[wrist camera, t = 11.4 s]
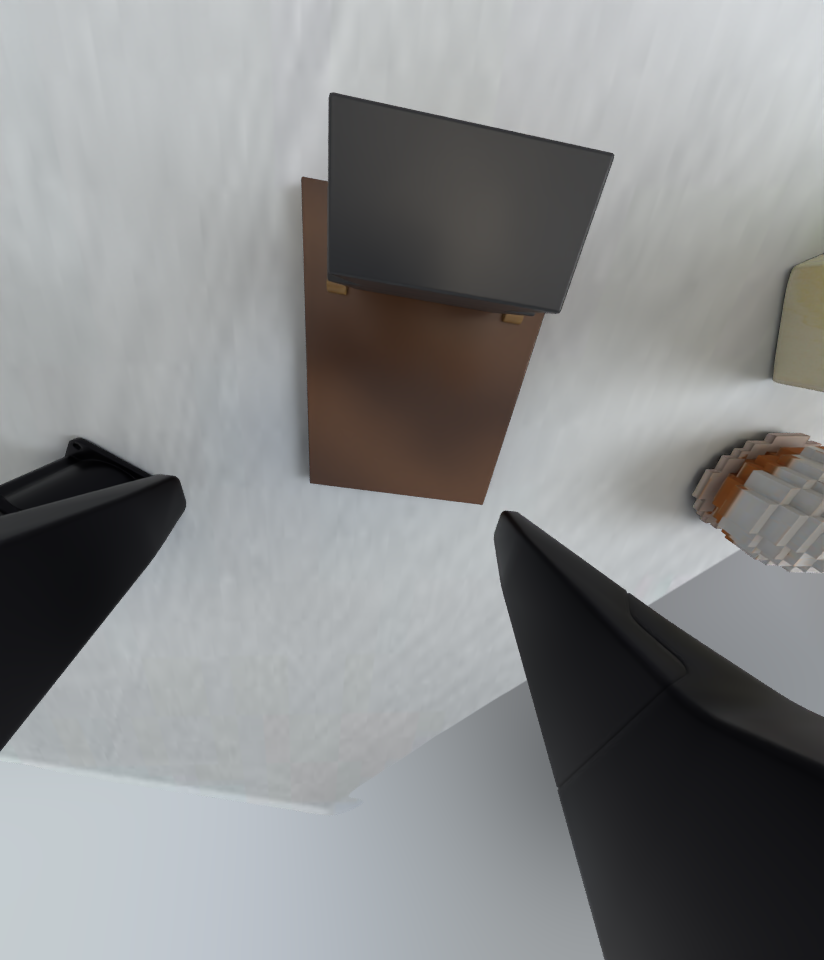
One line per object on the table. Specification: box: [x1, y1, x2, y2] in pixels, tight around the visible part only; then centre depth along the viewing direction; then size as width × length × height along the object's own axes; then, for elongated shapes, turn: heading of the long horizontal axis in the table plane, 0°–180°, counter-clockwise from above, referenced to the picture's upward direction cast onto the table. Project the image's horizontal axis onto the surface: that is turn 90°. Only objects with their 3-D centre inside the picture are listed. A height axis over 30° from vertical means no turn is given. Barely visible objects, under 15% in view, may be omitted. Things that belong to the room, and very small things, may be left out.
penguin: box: [327, 93, 614, 316], centre depth 10 cm, size 11×8×3 cm
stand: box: [301, 177, 545, 505], centre depth 18 cm, size 16×13×2 cm
